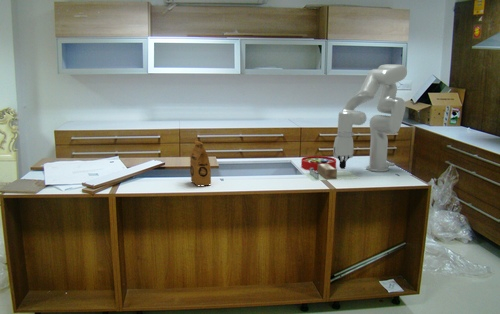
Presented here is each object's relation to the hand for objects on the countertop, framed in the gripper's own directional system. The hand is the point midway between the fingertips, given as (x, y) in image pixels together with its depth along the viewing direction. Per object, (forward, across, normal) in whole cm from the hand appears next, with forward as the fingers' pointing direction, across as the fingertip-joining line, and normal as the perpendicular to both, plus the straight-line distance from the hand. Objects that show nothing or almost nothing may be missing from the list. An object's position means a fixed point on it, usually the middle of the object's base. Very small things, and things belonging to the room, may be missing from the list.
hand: (342, 168), depth 249 cm
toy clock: (+6, +6, -21) cm, 23 cm away
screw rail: (+4, +16, 0) cm, 16 cm away
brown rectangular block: (+4, +8, 0) cm, 9 cm away
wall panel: (+5, +6, 0) cm, 8 cm away
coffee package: (+8, +76, -2) cm, 76 cm away
